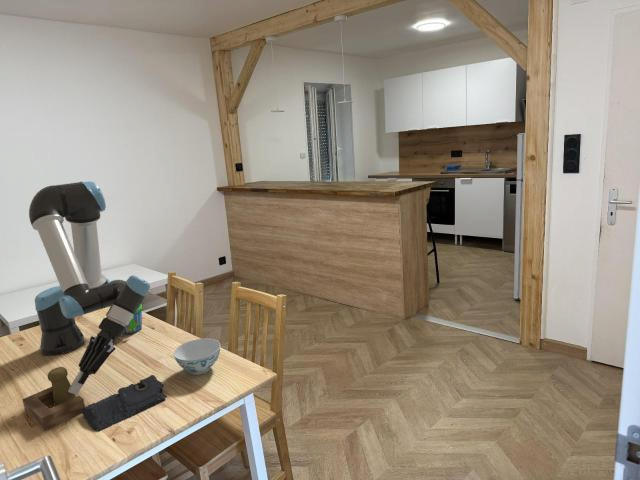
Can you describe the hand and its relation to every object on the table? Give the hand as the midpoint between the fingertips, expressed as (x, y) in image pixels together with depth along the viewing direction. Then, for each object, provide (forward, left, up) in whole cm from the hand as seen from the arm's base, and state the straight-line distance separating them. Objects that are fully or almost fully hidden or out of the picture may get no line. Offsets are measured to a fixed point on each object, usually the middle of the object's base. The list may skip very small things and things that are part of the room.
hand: (72, 393), depth 133 cm
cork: (+1, -3, -3) cm, 4 cm away
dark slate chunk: (-3, +17, -4) cm, 18 cm away
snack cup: (-47, -21, -4) cm, 52 cm away
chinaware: (-26, +28, -4) cm, 38 cm away
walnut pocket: (+5, -2, -3) cm, 6 cm away
